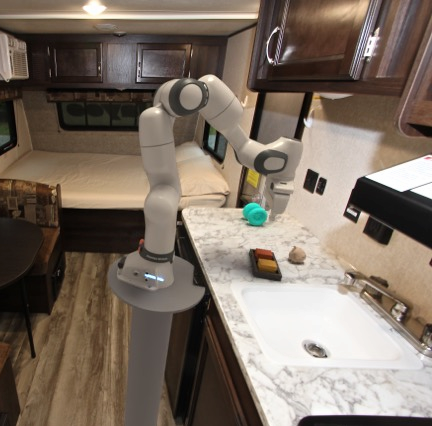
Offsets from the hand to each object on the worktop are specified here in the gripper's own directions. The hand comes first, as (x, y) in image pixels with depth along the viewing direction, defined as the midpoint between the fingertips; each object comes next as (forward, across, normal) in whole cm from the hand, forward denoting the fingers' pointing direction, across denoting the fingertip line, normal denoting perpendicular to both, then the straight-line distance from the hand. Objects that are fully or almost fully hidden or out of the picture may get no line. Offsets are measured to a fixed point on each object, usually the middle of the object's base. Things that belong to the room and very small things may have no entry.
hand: (268, 215), depth 114 cm
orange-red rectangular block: (+22, -3, +4) cm, 22 cm away
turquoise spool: (+23, -43, +5) cm, 49 cm away
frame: (+23, +1, +4) cm, 23 cm away
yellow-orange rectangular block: (+22, +5, +4) cm, 23 cm away
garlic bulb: (+22, -8, +18) cm, 30 cm away
